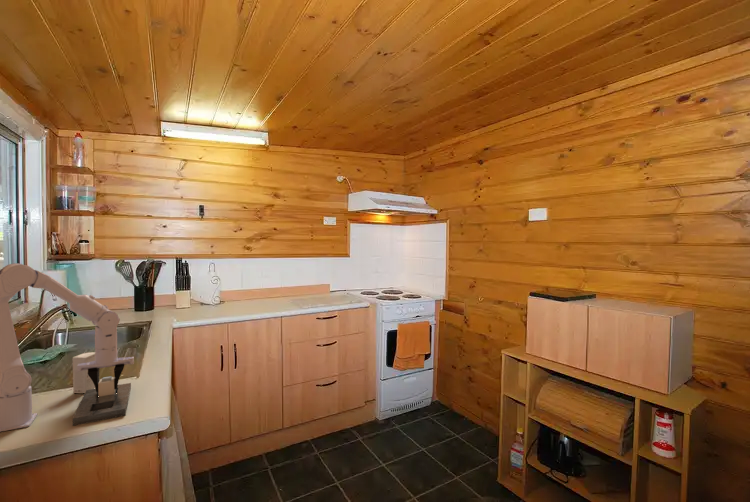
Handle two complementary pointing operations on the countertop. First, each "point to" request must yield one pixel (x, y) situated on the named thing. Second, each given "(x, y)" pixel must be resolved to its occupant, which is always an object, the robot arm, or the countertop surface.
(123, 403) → the panel
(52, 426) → the countertop surface
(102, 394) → the plug
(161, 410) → the countertop surface
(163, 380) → the countertop surface
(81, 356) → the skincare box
